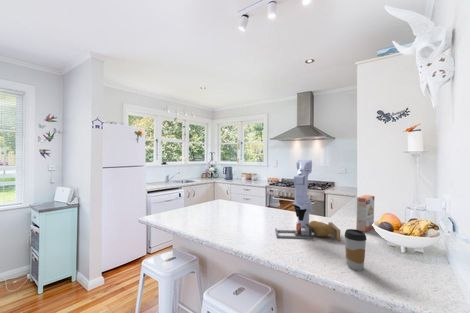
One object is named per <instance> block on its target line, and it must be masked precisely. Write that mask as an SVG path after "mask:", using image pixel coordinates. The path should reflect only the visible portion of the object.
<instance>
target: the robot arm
mask: <svg viewBox="0 0 470 313" xmlns="http://www.w3.org/2000/svg"><path fill="white" fill-rule="evenodd" d="M296 169H297V171H296V174H295V175H294V176H293V187H294V202H292V205H293V208H294V211H295V215H296V217H297V221H295V224H296V223H301V228H306V224H309V223H310V213H311V212H312V200H311V199H310V198H309V197H308V189H309V187H308V185H309V184H308V183H309V175H310V174H312V171H313V160H311V159H310V160H309V159H304V160H303V159H297V160H296Z"/></svg>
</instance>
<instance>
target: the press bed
mask: <svg viewBox="0 0 470 313" xmlns="http://www.w3.org/2000/svg"><path fill="white" fill-rule="evenodd" d="M328 225H330V226H331V227H332V228H333V233H332V234H330V236H331V237H332V238H334V240H335V241H336V242H341V229H340V228H338V227H337V226H336V225H335V224H334V223H333V222H332V221H331V222H328ZM274 230H275V236H276V238H277V239H278V238H279V239H302V240H303V239H306V240H308V239H309V240H313V239H314V238H313V235H312V236H295V235H280V234H279V233H287V232H288V233H290V234H291V233H293V234H294V231H296V229H294V230H292V229H291V230H289V229H287V230H286V229H277V228H276V227H275V228H274Z"/></svg>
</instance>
